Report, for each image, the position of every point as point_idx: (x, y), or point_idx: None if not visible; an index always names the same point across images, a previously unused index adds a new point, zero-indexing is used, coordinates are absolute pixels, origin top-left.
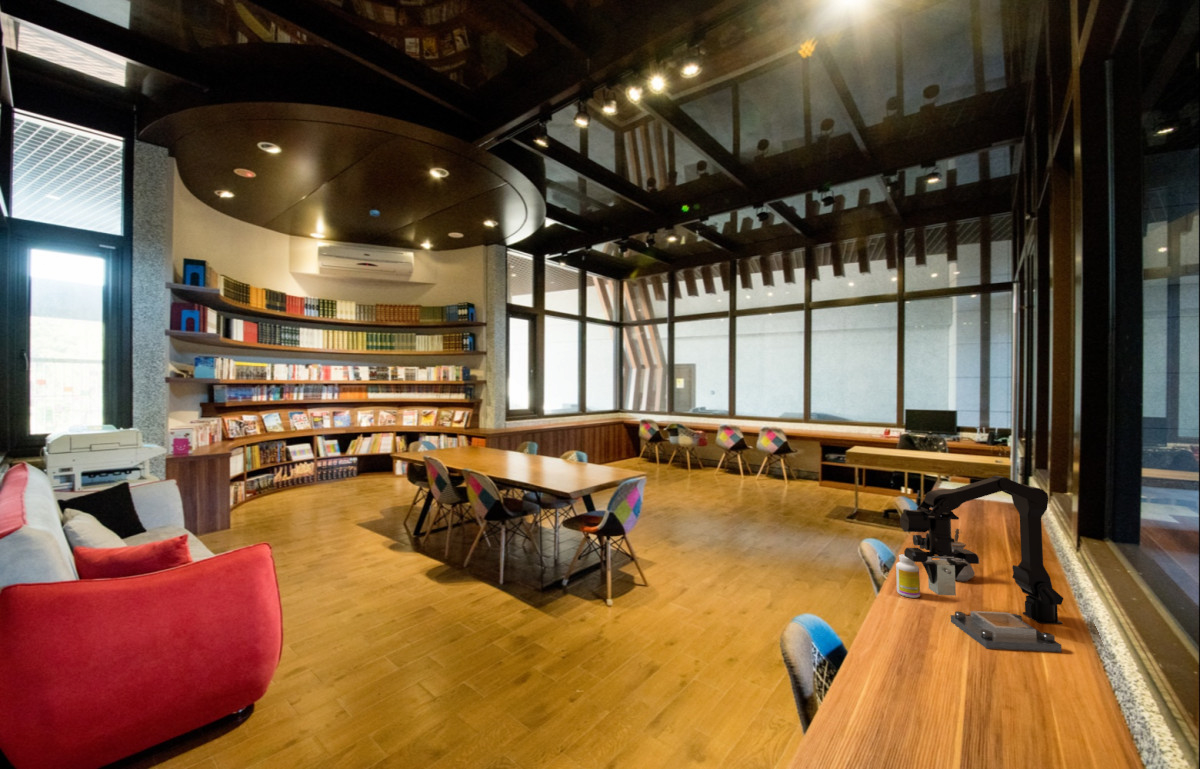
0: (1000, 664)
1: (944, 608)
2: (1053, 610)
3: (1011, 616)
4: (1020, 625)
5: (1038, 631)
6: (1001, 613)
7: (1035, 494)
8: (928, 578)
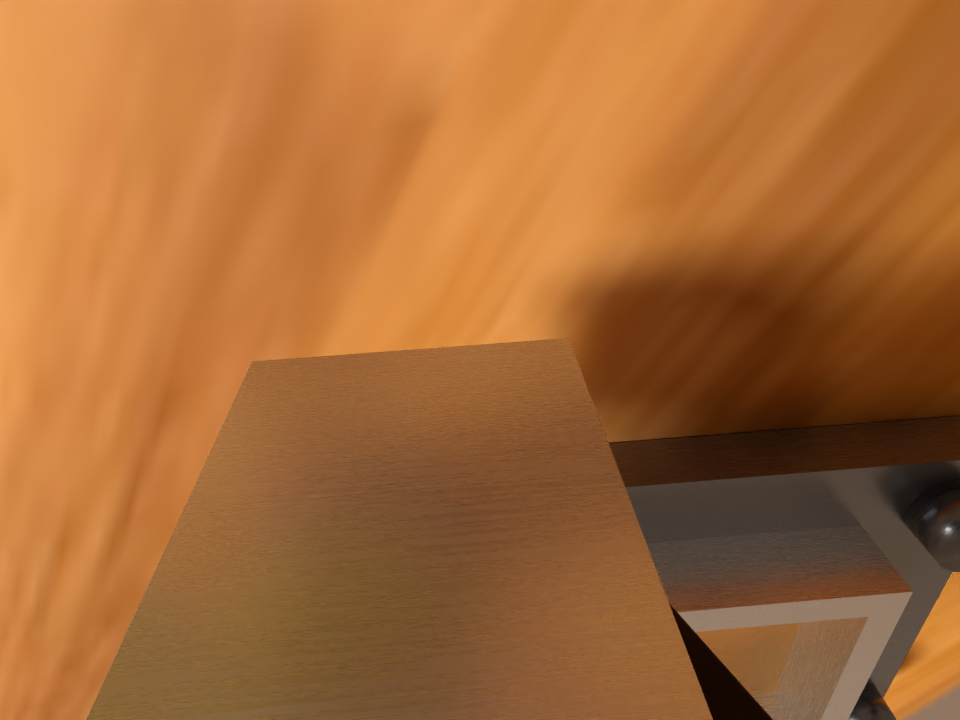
0: None
1: (528, 144)
2: None
3: (858, 647)
4: (812, 681)
5: (916, 624)
6: (827, 615)
7: None
8: (189, 512)
